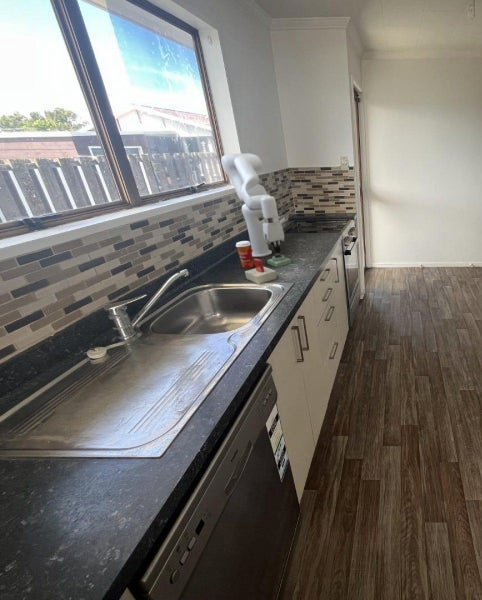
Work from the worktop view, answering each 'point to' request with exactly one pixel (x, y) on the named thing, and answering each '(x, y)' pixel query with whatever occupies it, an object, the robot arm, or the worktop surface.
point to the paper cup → (245, 253)
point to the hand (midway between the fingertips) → (277, 252)
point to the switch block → (278, 261)
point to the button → (278, 255)
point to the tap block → (261, 275)
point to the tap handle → (259, 265)
